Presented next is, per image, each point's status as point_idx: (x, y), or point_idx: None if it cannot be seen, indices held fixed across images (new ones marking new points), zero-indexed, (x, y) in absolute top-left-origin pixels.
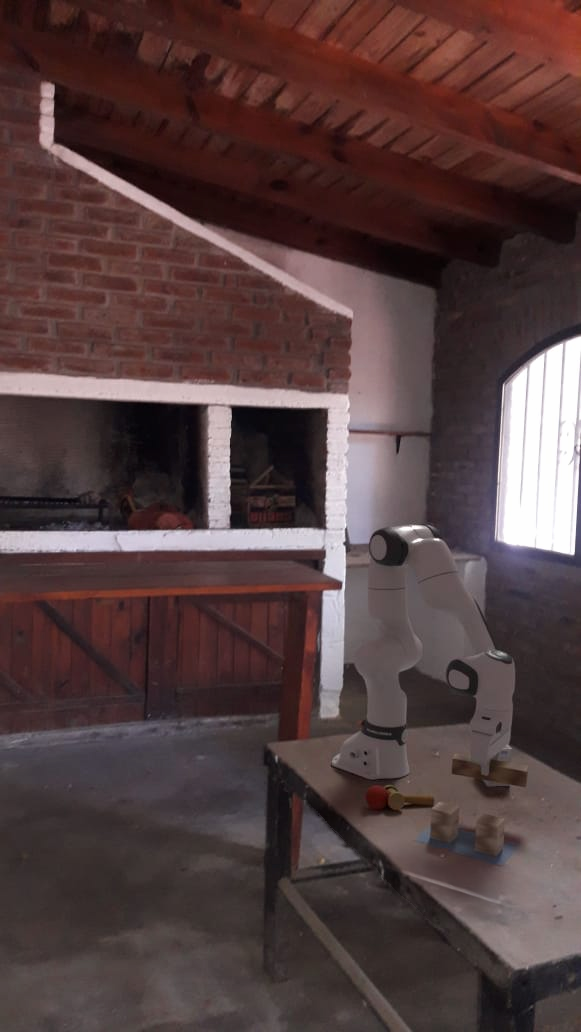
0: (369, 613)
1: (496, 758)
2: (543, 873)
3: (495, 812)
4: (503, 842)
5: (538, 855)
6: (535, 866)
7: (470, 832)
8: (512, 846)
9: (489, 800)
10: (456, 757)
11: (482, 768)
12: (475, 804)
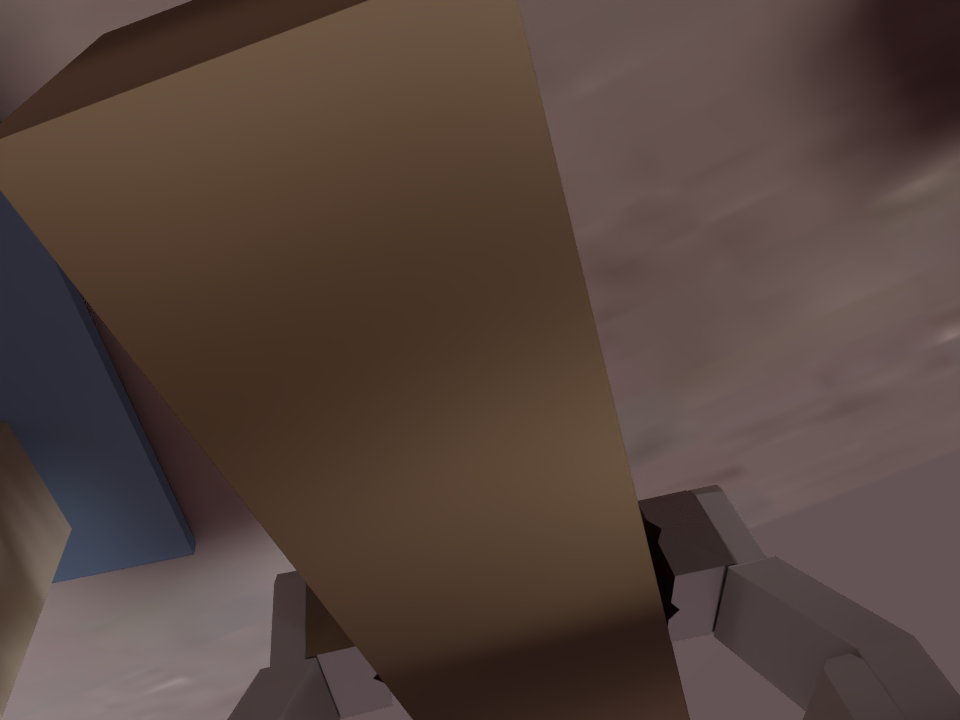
0: None
1: (744, 644)
2: (56, 704)
3: (588, 223)
4: (58, 559)
5: (211, 621)
6: (84, 663)
7: (59, 293)
8: (148, 543)
9: (786, 79)
10: (177, 196)
11: (275, 662)
12: (646, 21)
